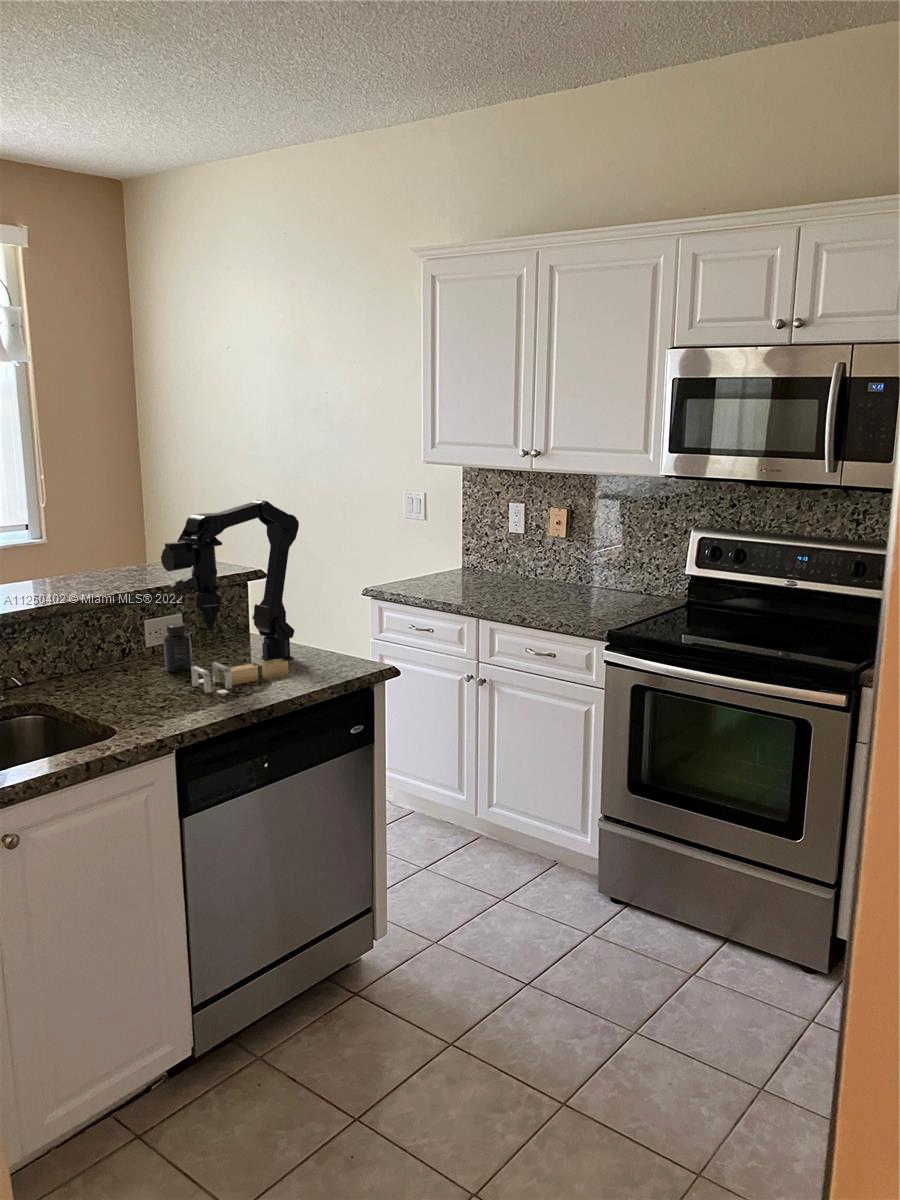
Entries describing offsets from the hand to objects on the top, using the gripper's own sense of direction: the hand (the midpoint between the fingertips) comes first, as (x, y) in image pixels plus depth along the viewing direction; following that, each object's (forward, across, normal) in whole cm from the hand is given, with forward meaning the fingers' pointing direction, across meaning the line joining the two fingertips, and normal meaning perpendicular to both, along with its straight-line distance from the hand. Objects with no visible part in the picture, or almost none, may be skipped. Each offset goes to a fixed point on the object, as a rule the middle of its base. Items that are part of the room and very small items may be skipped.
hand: (209, 625), depth 243 cm
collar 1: (+13, +12, -3) cm, 18 cm away
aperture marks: (+13, +11, -1) cm, 17 cm away
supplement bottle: (+13, -8, -8) cm, 17 cm away
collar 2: (+13, +10, +2) cm, 16 cm away
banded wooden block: (+13, +6, +10) cm, 18 cm away
